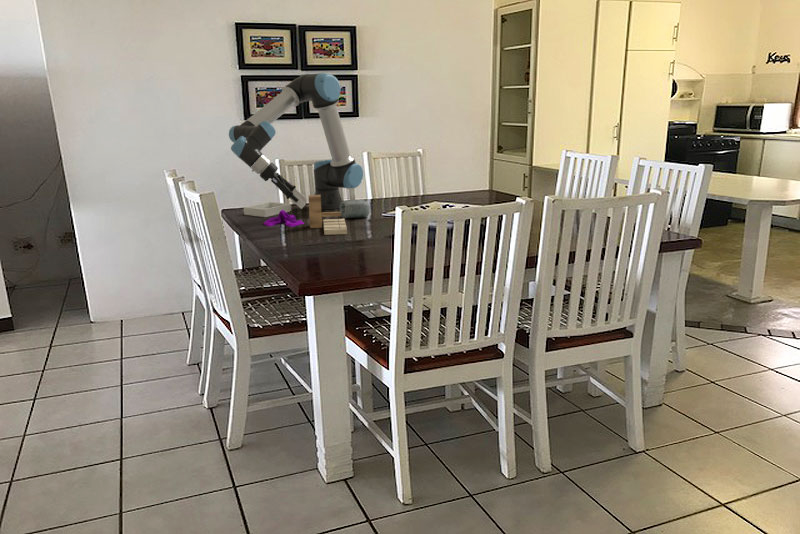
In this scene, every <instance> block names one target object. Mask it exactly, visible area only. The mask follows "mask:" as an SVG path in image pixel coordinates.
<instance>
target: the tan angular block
mask: <svg viewBox="0 0 800 534" xmlns="http://www.w3.org/2000/svg"><path fill="white" fill-rule="evenodd" d="M307 197H308V198H307V199H308V212H309V213H308V214H309V215H308V216H309V229H320V228H323V218H324V217H325V218H327V217H328V218H330V217H337V219H340V217H342V216H341V212H340V211H328V212H327V211H325V212H324V211H323V212H322V209H321V195H315V194H310V195H308V196H307Z"/></svg>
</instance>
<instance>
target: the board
mask: <svg viewBox="0 0 800 534" xmlns="http://www.w3.org/2000/svg"><path fill="white" fill-rule="evenodd" d="M322 223H323V232H324V233H323V235H324V236H329V235H330V236H331V235H348V227H347V224H346V219H345V218H331V219H330V218H329V219H326V218H325V219H322Z"/></svg>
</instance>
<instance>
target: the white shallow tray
mask: <svg viewBox="0 0 800 534" xmlns="http://www.w3.org/2000/svg"><path fill="white" fill-rule="evenodd" d="M281 210H284V211H285V212H286V213H291V212H292V204H291V203H284V202H283V203H282V202H275V201H267V202H262V203H257V204H253V205H248V206H244V207H243V215H245V216H251V217H252V216H254V217H262V218H268V217H272V216H273V217H274V216H277V215H279V212H280V211H281ZM290 211H291V212H290Z"/></svg>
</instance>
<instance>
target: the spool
mask: <svg viewBox="0 0 800 534" xmlns="http://www.w3.org/2000/svg"><path fill="white" fill-rule="evenodd" d="M342 201H343V202H341V204H340V208H339V212H341V216H340V217H341V219H345V220H347V219H355V218H356V219H357V218H358V219H359V218H361V219H363V218H367V217H369V215H370V212H371V209H370V208H371V206H370V203H369V202H368V201H367V200H364V199H349V200H342Z"/></svg>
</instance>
